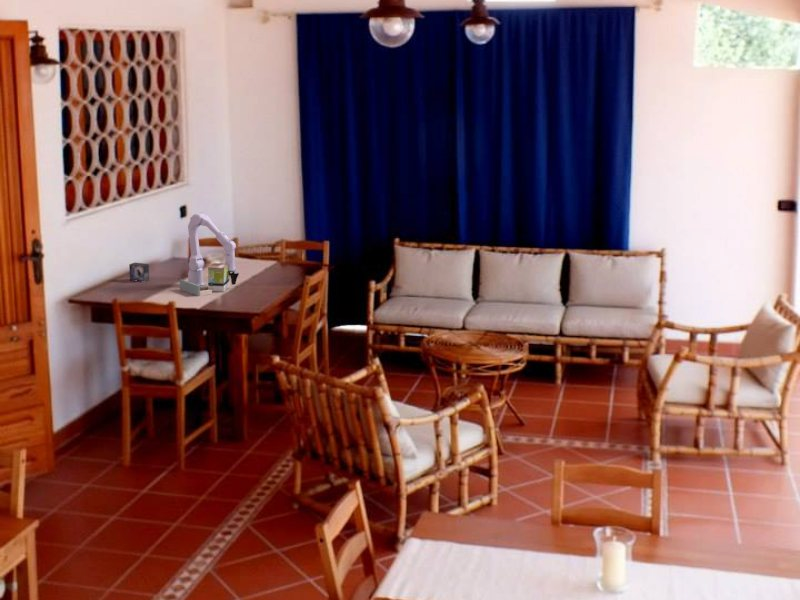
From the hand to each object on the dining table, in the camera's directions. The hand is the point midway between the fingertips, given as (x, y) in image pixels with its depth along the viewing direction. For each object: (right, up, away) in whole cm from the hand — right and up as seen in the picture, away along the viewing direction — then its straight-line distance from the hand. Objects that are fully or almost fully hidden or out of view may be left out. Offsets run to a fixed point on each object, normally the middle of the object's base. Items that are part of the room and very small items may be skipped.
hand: (230, 283), depth 705 cm
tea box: (-6, -4, -6) cm, 9 cm away
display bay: (-18, -5, -14) cm, 24 cm away
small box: (-59, +2, +16) cm, 61 cm away
